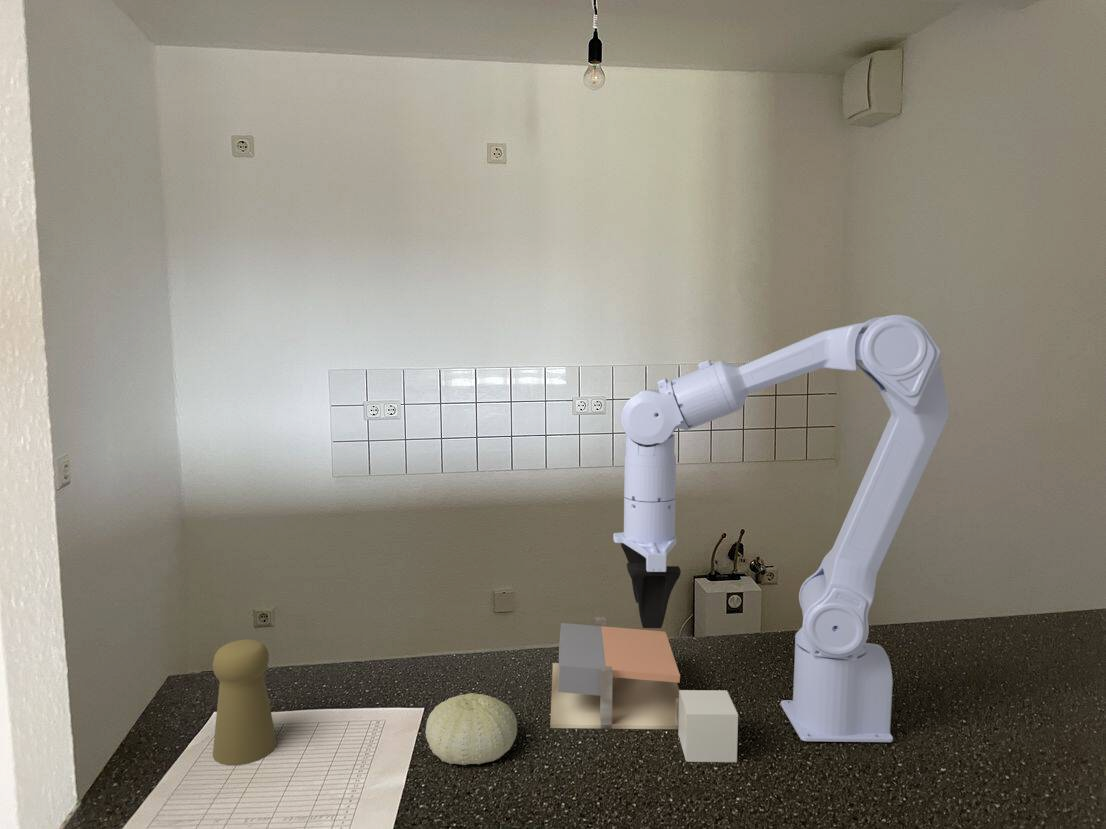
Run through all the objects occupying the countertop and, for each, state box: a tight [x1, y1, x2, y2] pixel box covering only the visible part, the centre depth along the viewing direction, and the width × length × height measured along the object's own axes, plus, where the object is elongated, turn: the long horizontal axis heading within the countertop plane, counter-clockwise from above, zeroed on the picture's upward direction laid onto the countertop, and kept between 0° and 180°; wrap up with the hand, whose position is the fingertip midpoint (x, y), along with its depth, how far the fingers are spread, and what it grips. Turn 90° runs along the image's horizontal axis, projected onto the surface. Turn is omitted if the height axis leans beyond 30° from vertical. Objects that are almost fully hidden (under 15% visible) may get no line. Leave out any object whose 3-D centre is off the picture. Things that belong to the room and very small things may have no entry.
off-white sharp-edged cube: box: [677, 689, 739, 763], centre depth 76 cm, size 5×5×5 cm
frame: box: [549, 616, 680, 730], centre depth 87 cm, size 15×15×6 cm
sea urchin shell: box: [424, 692, 518, 766], centre depth 76 cm, size 9×8×8 cm
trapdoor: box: [558, 622, 681, 696], centre depth 87 cm, size 13×12×3 cm
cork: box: [212, 639, 277, 766], centre depth 75 cm, size 6×6×11 cm
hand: (648, 613), depth 85 cm, fingers open, 7 cm apart
